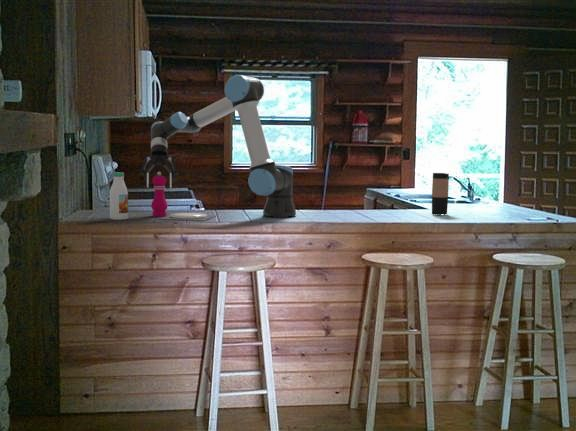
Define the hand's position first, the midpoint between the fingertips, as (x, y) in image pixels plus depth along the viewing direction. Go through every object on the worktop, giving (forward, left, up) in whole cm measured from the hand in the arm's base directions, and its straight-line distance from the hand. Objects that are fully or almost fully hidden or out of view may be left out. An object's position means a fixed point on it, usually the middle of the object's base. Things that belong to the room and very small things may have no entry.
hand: (159, 185), depth 319 cm
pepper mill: (+1, -3, -14) cm, 14 cm away
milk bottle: (+13, +14, -14) cm, 24 cm away
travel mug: (-124, -49, -14) cm, 134 cm away
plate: (-14, +1, -14) cm, 20 cm away
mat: (-14, +1, -14) cm, 20 cm away
